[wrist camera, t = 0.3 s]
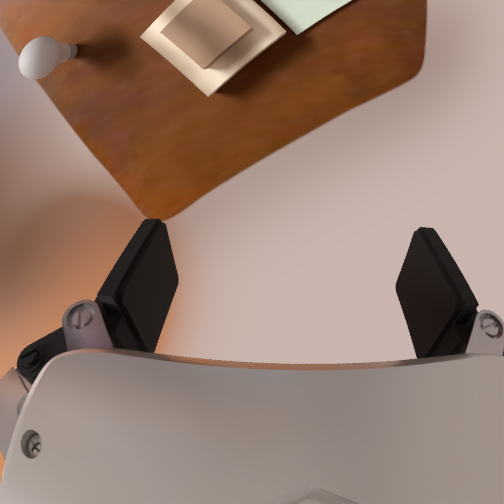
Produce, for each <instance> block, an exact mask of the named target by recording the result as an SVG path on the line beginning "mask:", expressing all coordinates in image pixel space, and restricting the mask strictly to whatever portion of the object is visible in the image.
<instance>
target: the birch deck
mask: <svg viewBox="0 0 504 504" xmlns="http://www.w3.org/2000/svg"><path fill="white" fill-rule="evenodd" d="M191 1H192V0H175V1H174V2H173V3H172V4H171V5H170V6H169V7H168V8H167V9H166V10H165V11H164V12H163V13H162V14H161V15H160V16H159V17H158V18H157V19H156V20H155V21H154V22H153V24H152V25H151V26H150V27H149V28H148V29H147V30H146V31H145V32H144V33H143V35H142V36H141V38H142V39H143V40H144V41H146V42H147V43H148V44H149V45H150V46H152V47H153V48H154V49H155V50H156V51H158V52H159V53H160V54H161V55H162V56H163V57H165V58H166V59H167V60H168V61H169V62H170V63H172V64H173V65H174V66H175V67H176V68H177V69H178V70H179V71H181V72H182V73H183V74H184V75H185V76H186V77H187V78H188V79H189V80H191V81H192V82H193V83H194V84H195V85H196V86H197V87H198V88H199V89H200V90H201V91H202V92H204V93H205V94H206V95H207V96H210V95H212V94H213V93H215V92H216V91H217V90H218V89H219V88H220V87H221V86H223V85H224V84H225V83H226V82H227V81H228V80H229V79H230V78H232V77H233V76H234V75H235V74H236V73H237V72H238V71H240V70H241V69H242V68H243V67H244V66H246V65H247V64H248V63H249V62H250V61H252V60H253V59H254V58H255V57H256V56H258V55H259V54H260V53H261V52H263V51H264V50H265V49H267V48H268V47H269V46H270V45H272V44H273V43H274V42H276V41H277V40H278V39H280V38H281V37H282V36H284V35H285V34H286V31H285V30H284V29H283V28H282V27H281V26H280V25H279V24H278V23H277V22H276V21H275V20H274V19H273V18H272V17H271V16H270V15H269V14H268V13H267V12H265V11H264V10H263V9H262V8H261V7H260V6H259V5H258V4H257V3H255V2H254V1H253V0H221V1H222V2H223V3H225V4H226V5H227V6H228V7H229V8H231V9H232V10H233V11H234V12H235V13H236V14H238V15H239V16H240V17H241V18H242V19H243V20H244V21H246V22H247V23H248V24H249V25H250V26H251V27H252V28H253V29H254V30H252V31H251V32H250V33H249V34H247V35H246V36H245V37H244V38H242V39H241V40H240V41H239V42H238V43H236V44H235V45H234V46H233V47H232V48H231V49H229V50H228V51H227V52H226V53H225V54H224V55H223V56H221V57H220V58H219V59H218V60H217V61H216V62H215V63H214V64H213V65H212V66H211V67H209V68H208V69H204V70H203V69H202V68H201V67H200V66H199V65H198V64H196V63H195V62H194V61H193V60H192V59H191V58H190V57H189V56H187V55H186V54H185V53H184V52H183V51H182V50H181V49H179V48H178V47H177V46H176V45H175V44H173V43H172V42H171V41H170V40H169V39H168V38H166V37H165V36H164V35H163V34H161V33H160V32H161V31H162V29H163V28H164V27H165V26H166V25H167V24H168V23H169V22H170V21H171V20H172V19H173V18H174V17H175V16H176V15H177V14H178V13H179V12H180V11H182V10H183V9H184V8H185V7H186V6H187V5H188V4H189V3H190V2H191Z"/></svg>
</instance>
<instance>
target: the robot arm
mask: <svg viewBox="0 0 504 504" xmlns="http://www.w3.org/2000/svg"><path fill="white" fill-rule="evenodd" d="M177 286H178V273H177V269H176V265H175V261H174V257H173V253H172V249H171V245H170V240H169V236H168V232H167V228H166V224H165V223H162V222H161V220H160V219H145V220H144V221H143V222H142V224H141V225H140V227H139V228H138V230H137V231H136V233H135V234H134V236H133V237H132V239H131V240H130V242H129V243H128V245H127V247H126V248H125V250H124V251H123V253H122V254H121V256H120V257H119V259H118V261H117V262H116V264H115V265H114V267H113V269H112V270H111V272H110V274H109V275H108V277H107V279H106V281H105V282H104V284H103V285H102V287H101V289H100V291H99V292H98V294H97V298H96V299H95V301H91V300H81V301H78V302H76V303H74V304H73V305H71V306H70V307H69V308H68V309H67V311H66V312H65V313H64V316H63V318H62V326H63V327H61V328H59V329H57V330H56V331H54V332H52V333H50V334H48V335H46V336H45V337H43V338H41V339H39V340H37V341H35V342H34V343H32V344H30V345H28V346H27V347H26V348H24V350H23V351H22V352H21V353H20V355H19V357H18V361H17V368H16V369H15V368H14V367H12V368H11V369H10V370H9V371H8V372H7V373H6V374H5V375H4V376H3V377H2V378H1V379H0V451H1V453H2V455H3V457H4V459H5V464H4V469H3V474H2V478H1V484H0V504H504V323H503V321H502V319H501V318H500V317H499V316H498V315H497V314H496V313H494V312H492V311H490V310H481V311H480V312H477V309H476V308H477V306H478V305H479V304H478V302H477V300H476V298H475V296H474V294H473V292H472V291H471V289H470V287H469V285H468V283H467V281H466V280H465V278H464V276H463V274H462V273H461V271H460V269H459V267H458V266H457V264H456V262H455V261H454V259H453V257H452V256H451V254H450V253H449V251H448V249H447V248H446V246H445V245H444V243H443V242H442V240H441V238H440V237H439V235H438V234H437V232H436V231H435V230H434V229H433V228H426V227H420V228H419V229H418V230H417V231H415V232H414V234H413V237H412V240H411V243H410V246H409V249H408V252H407V255H406V258H405V260H404V263H403V266H402V269H401V271H400V274H399V277H398V280H397V282H396V293H397V295H398V298H399V301H400V304H401V307H402V310H403V313H404V316H405V319H406V323H407V326H408V329H409V332H410V336H411V339H412V343H413V345H414V349H415V353H416V357H417V359H409V360H398V361H385V362H370V363H346V364H277V363H276V364H275V363H253V362H236V361H222V360H211V359H200V358H191V357H181V356H173V355H164V354H156V353H154V351H155V349H156V346H157V343H158V339H159V336H160V334H161V331H162V328H163V325H164V322H165V319H166V317H167V314H168V311H169V308H170V305H171V303H172V300H173V297H174V294H175V292H176V289H177Z"/></svg>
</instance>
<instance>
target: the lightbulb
mask: <svg viewBox="0 0 504 504" xmlns="http://www.w3.org/2000/svg"><path fill="white" fill-rule="evenodd" d="M76 54H77V47H76V45H74V44H66V43H59V42H58V41H57V40H56V39H54V38H53V37H50V36H41V37H38V38H35V39H34V40H32V41H31V42H29V43H28V44H27V45H26V46H25V48H24V49H23V51H22V52H21V55H20V58H19V69H20V71H21V73H22V74H23V75H24V76H25V77H27V78H29V79H40V78H43V77H45V76H47V75H48V74H50V73H51V72H52V71H53V70H54V69H55V68H56V66H57V65H58V64H60V63H63V62H65V61H66V60H70V59H73V58H74V57H75V56H76Z"/></svg>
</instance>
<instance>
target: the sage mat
mask: <svg viewBox="0 0 504 504" xmlns="http://www.w3.org/2000/svg"><path fill="white" fill-rule="evenodd" d="M261 1H262V2H263V3H264V4H265V5H266V6H267V7H268V8H269V9H271V10H272V11H273V12H274V13H275V14H276V15H277V16H278V17H279V18H280V19H281V20H282V21H283V22H284V23H285V24H286V25H287V26H288V27H289V28H290V29H291V30H292V31H293V32H294V33H295V34H296V35H298V34H300V33H301V32H303V31H304V30H305V29H307V28H308V27H310V26H311V25H313V24H314V23H316V22H317V21H319V20H320V19H322V18H323V17H325V16H327V15H328V14H330V13H331V12H333V11H335V10H336V9H338V8H340V7H341V6H343V5H345V4H346V3H348V2H350V1H351V0H261Z"/></svg>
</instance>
